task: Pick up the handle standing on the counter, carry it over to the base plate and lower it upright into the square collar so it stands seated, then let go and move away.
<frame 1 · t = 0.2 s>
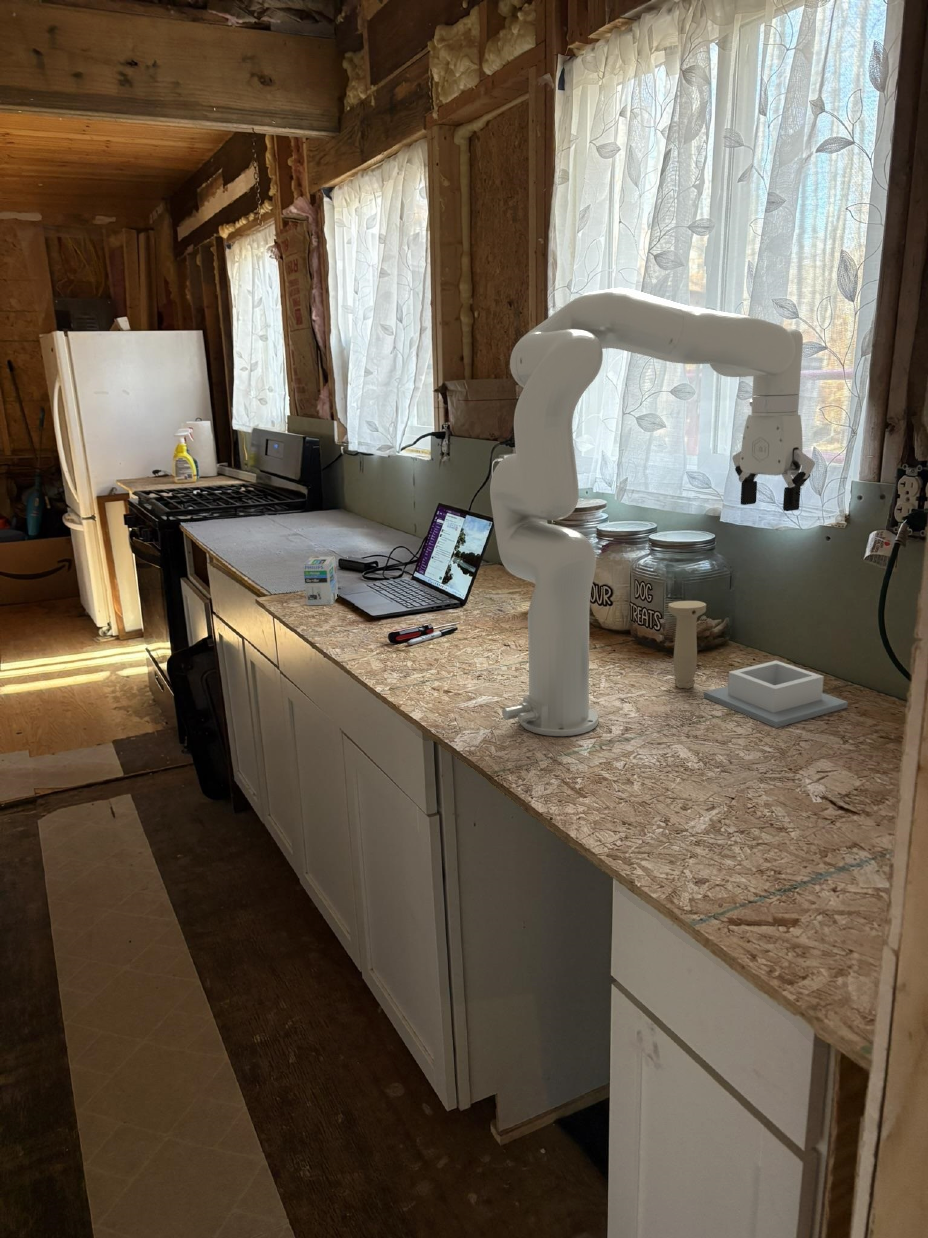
hand: (769, 507, 152), 31 cm above the counter, tool pointing down, fingers open, 9 cm apart
handle: (684, 687, 155), on the counter
socket plate: (773, 702, 146), on the counter
light bulb box: (322, 601, 225), on the counter
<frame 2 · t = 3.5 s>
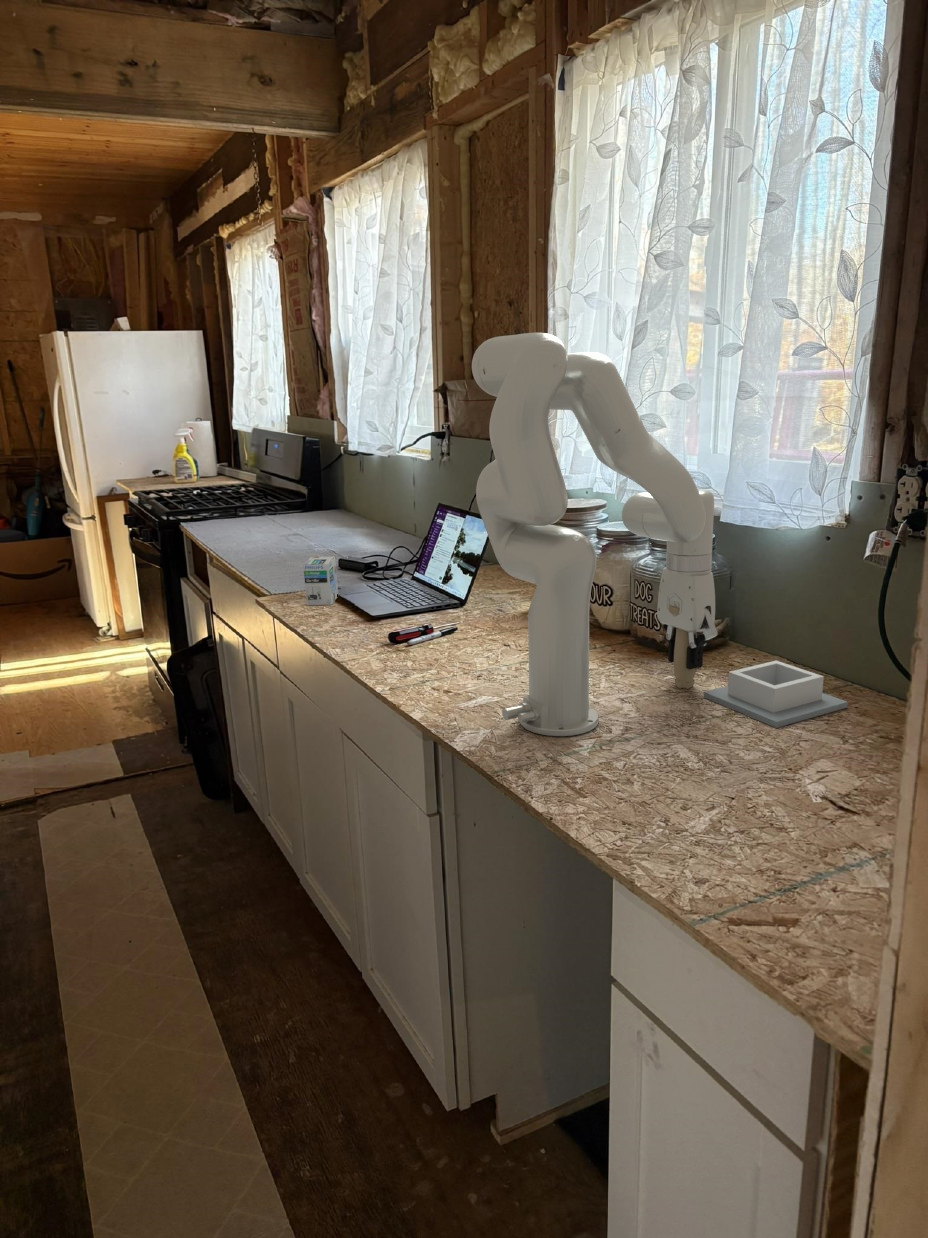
hand: (685, 663, 153), 4 cm above the counter, tool pointing down, fingers closed on handle, 3 cm apart
handle: (684, 687, 155), on the counter, touching gripper
everything else where it was.
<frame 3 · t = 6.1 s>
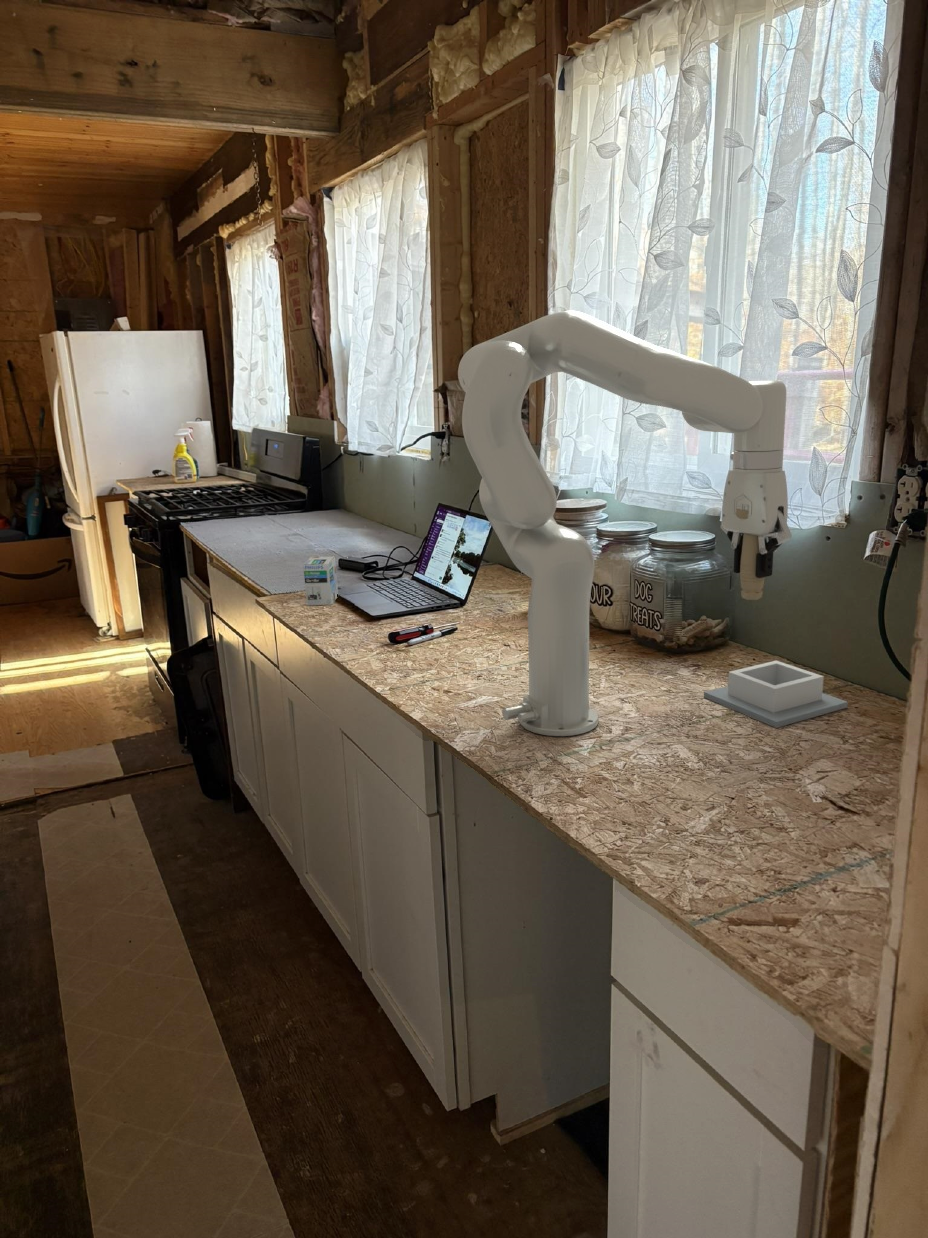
hand: (752, 573, 143), 22 cm above the counter, tool pointing down, fingers closed on handle, 3 cm apart
handle: (751, 599, 144), point 17 cm above the counter, touching gripper
everything else where it was.
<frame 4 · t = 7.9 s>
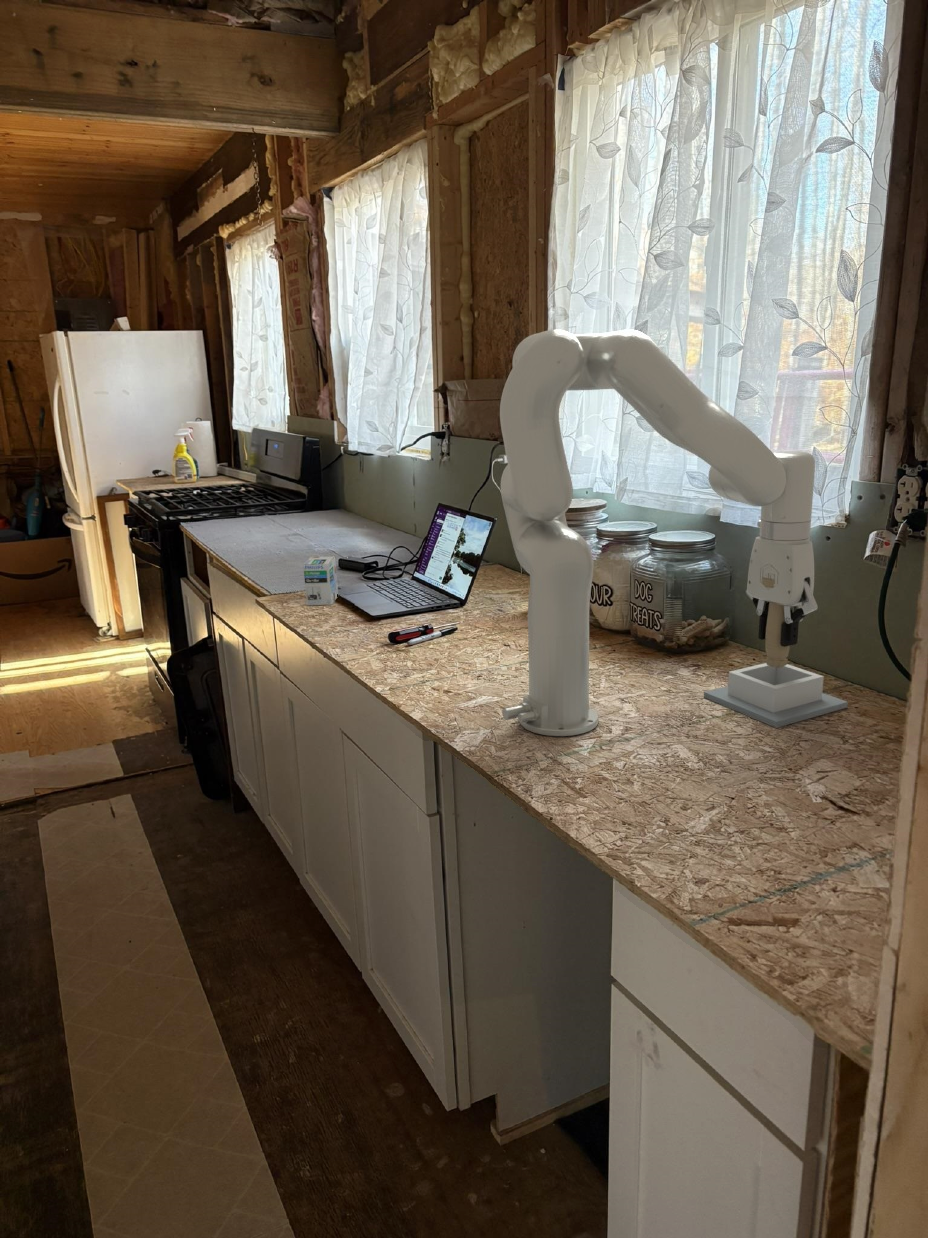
hand: (777, 640, 143), 11 cm above the counter, tool pointing down, fingers closed on handle, 3 cm apart
handle: (776, 666, 144), point 6 cm above the counter, touching gripper
everything else where it was.
when the fingers open (7 cm above the counter, at t = 9.0 s): handle drops 1 cm, resting on socket plate.
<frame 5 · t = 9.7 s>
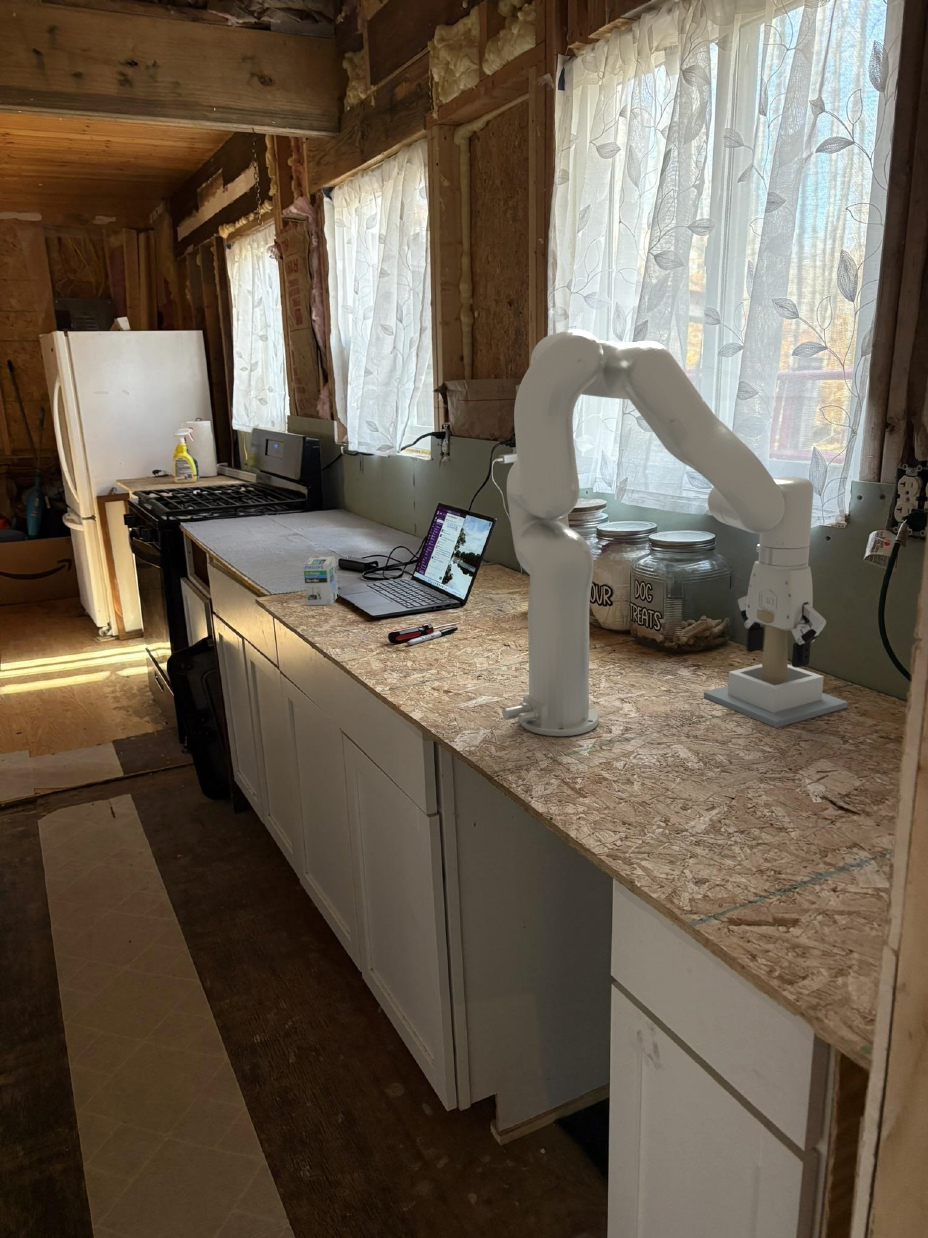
hand: (776, 658, 144), 8 cm above the counter, tool pointing down, fingers open, 9 cm apart
handle: (773, 697, 145), point 1 cm above the counter, touching socket plate
everything else where it was.
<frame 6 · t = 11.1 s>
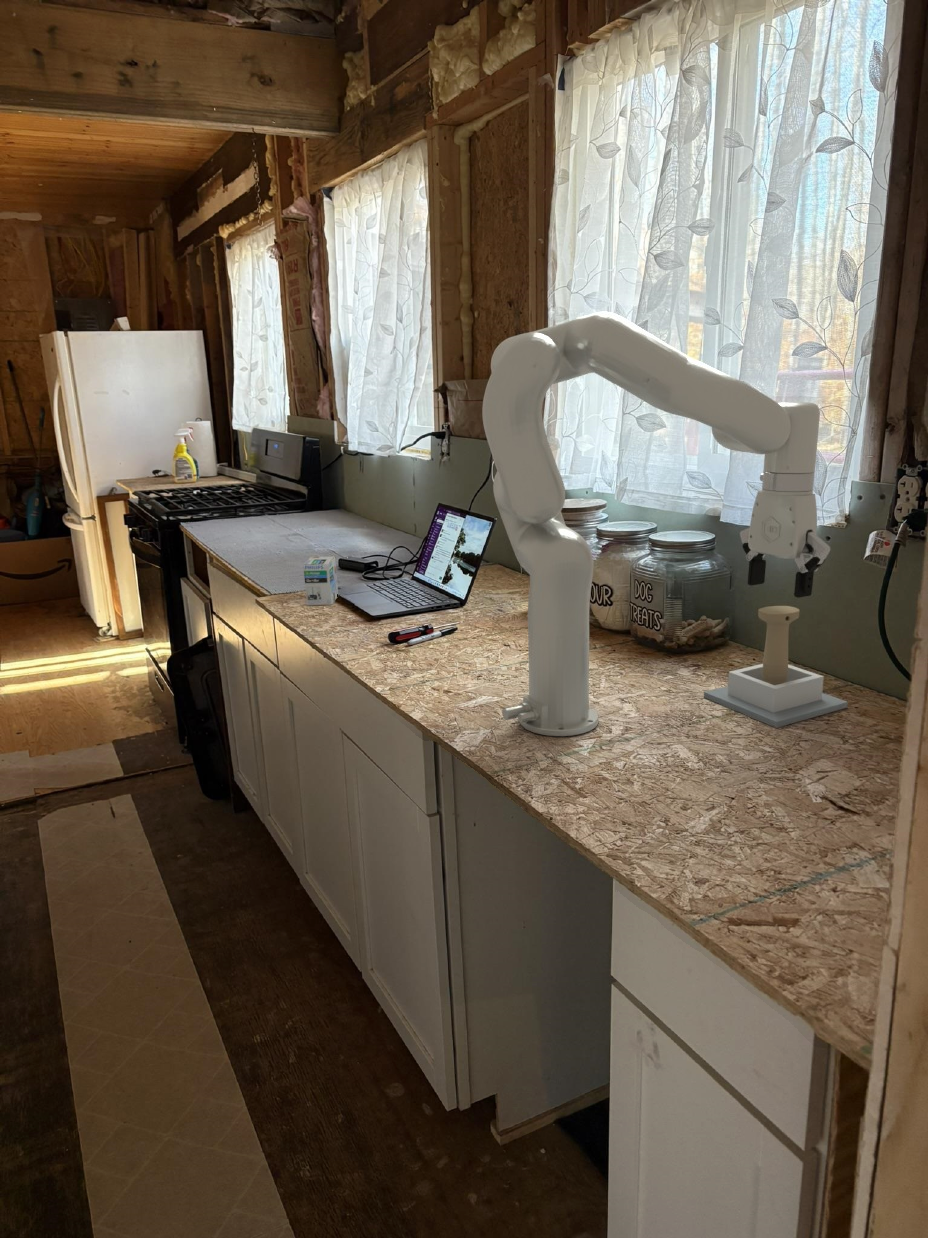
hand: (778, 590, 141), 19 cm above the counter, tool pointing down, fingers open, 9 cm apart
nothing on the counter moved.
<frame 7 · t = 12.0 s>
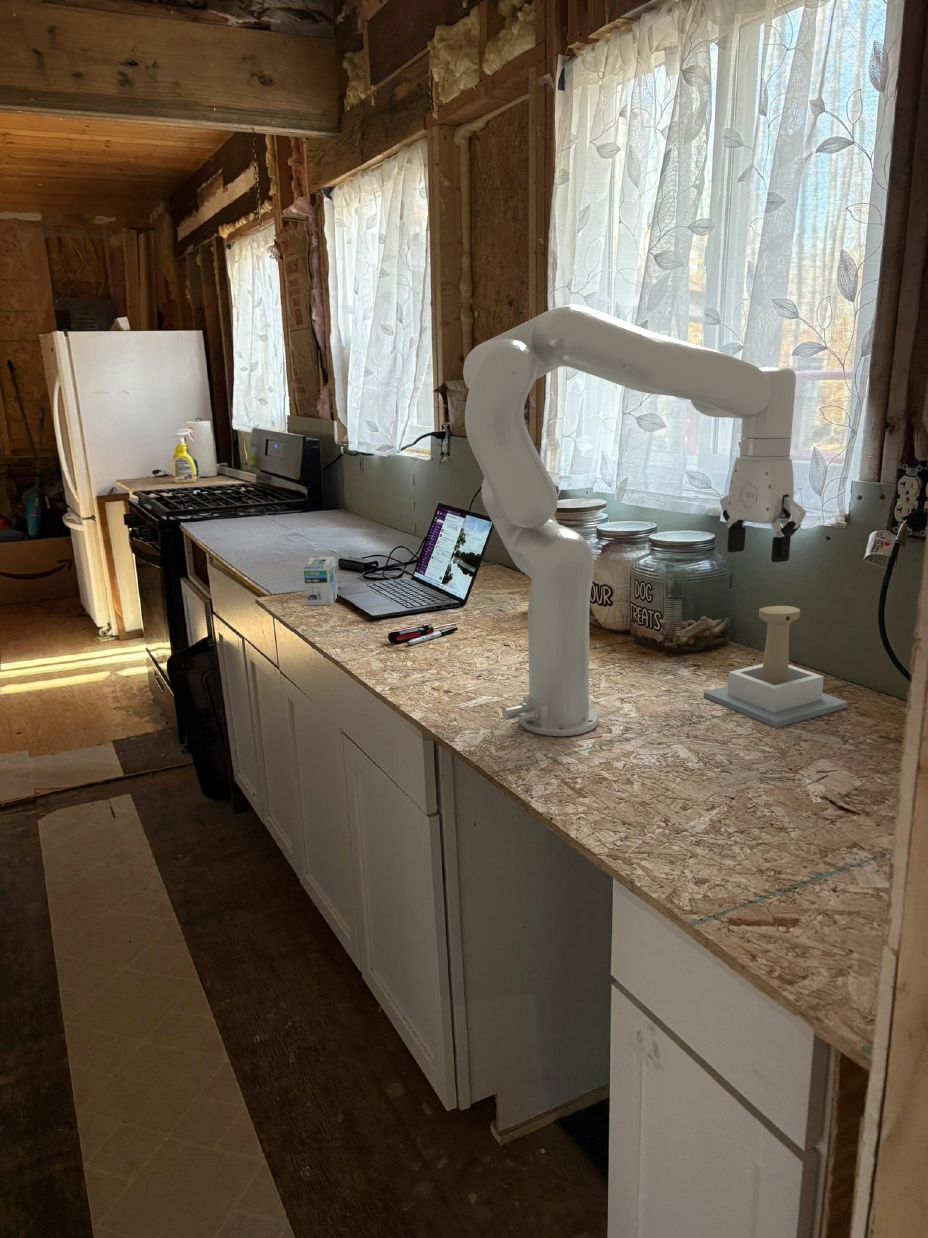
hand: (757, 556, 141), 25 cm above the counter, tool pointing down, fingers open, 9 cm apart
nothing on the counter moved.
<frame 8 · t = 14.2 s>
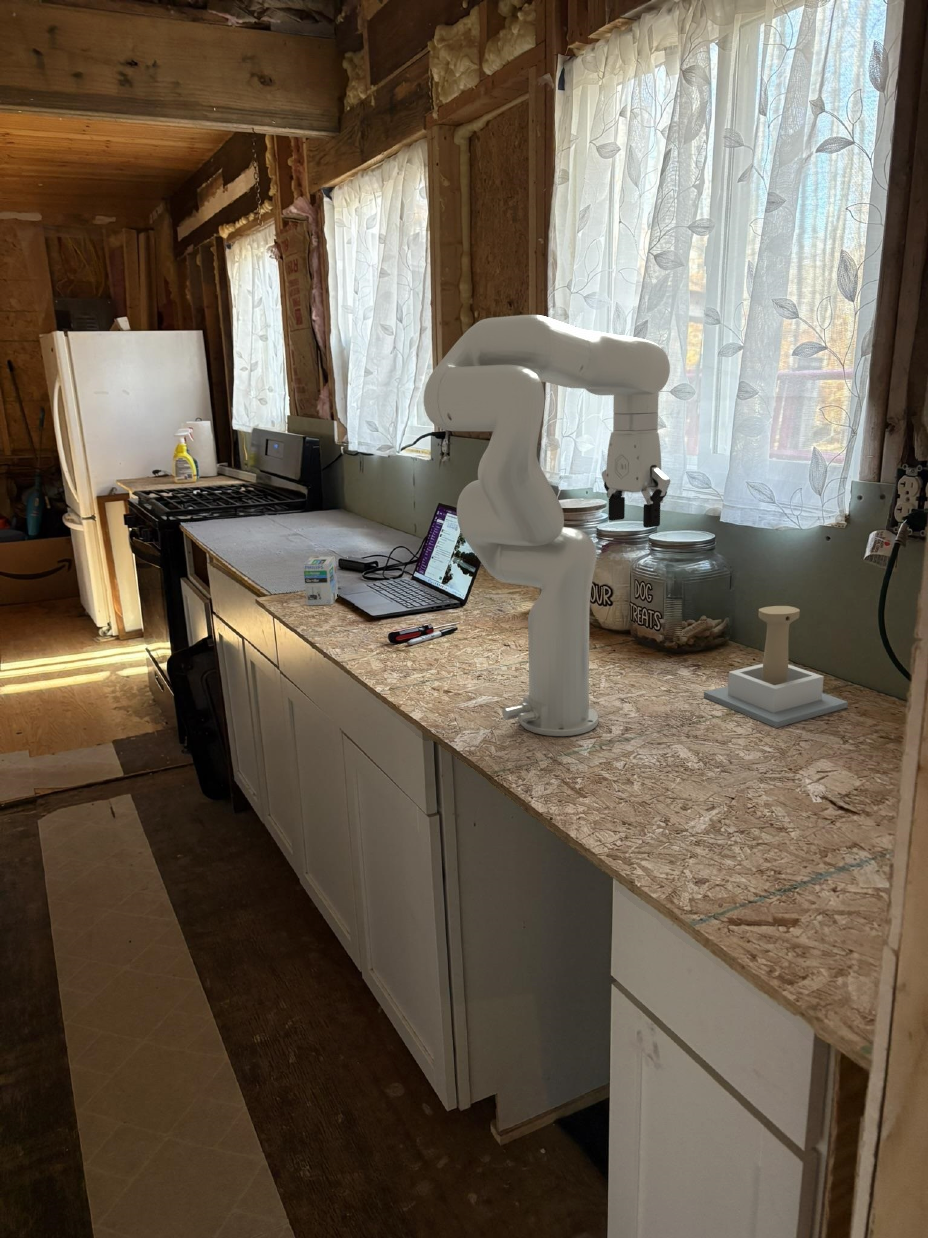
hand: (633, 523, 154), 28 cm above the counter, tool pointing down, fingers open, 9 cm apart
nothing on the counter moved.
at the end: handle 0.1 cm off-centre on the socket plate, point 0.8 cm above the socket plate's base; handle tilted 0°; the gripper is holding nothing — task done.
